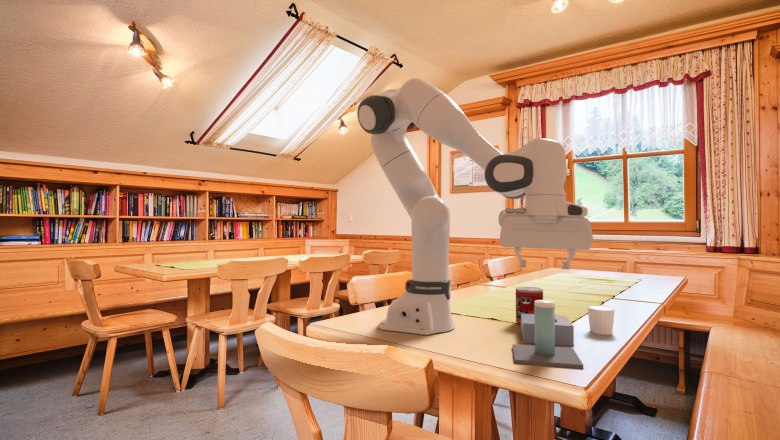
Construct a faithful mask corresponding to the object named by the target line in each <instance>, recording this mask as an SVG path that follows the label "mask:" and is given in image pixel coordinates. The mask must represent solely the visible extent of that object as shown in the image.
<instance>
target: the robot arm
mask: <svg viewBox="0 0 780 440" xmlns="http://www.w3.org/2000/svg"><path fill="white" fill-rule="evenodd" d="M356 112H357V119H358V123H359V125H360V127H361V128H362V130H364V132H365V133H367V134H370V135H371V138H370V144H371V147H372V150H373V152H374V156H375V157H376V160H377V162H378V164H379V166H380V167H381V170H382V171H383V173H384V174H385V177H386V178H387V180H388V182H389V183H390V185H391V187H392V188H393V190H394V193H395V194H396V195H397V197H398V199H399V201H400V202H401V204H402V206H403V207H404V209H405V211H406V213H407V215H408V216H409V218H410V219H411V278H408V279H407V280H406V282H405V283H404V289H405V292H404V293H402V294H401V295H400V296H399V297H397V298H396V299H395V300H394V301H392V302H391V303H390V304H389V305H388V309H387V312H386V317H385V318H383V319H382V320H380V322H379V324H378V328H379V329H380V330H384V331H390V332H392V331H393V332H397V333H398V332H399V333H407V334H416V335H422V336H423V335H424V336H429V335H432V334H433V335H434V334H437V333H445V332H449V331H452V330H453V329H455V323H454V320H453V316H452V311H451V310H452V309H451V301H450V299H451V295H452V294H451V293H452V284H451V280H450V277H449V275H450V262H449V261H450V258H449V257H450V256H449V255H450V254H449V253H450V235H451V231H450V229H451V212H450V208H449V205H448V204H447V202H446V201H445V200H444V199H443V198H441V197H440V196H439V194H438V193H437V190H436V188H435V187H434V185H433V183H432V181H431V178H430V176H429V175H428V172H427V171H426V169H425V167H424V165H423V164H422V162H421V160H420V158H419V157H418V155H417V154H416V151H415V150H414V148H413V147H412V145H411V144H410V142H409V141H408V138H407V135H406V134H407V130H409V131H410V130H413V129H414V128H415V126H416V127H417V128H418V129H419V130H420V131H421V132H423V133H424V134H425V135H427V136H429V137H430V138H431V139H433V140H434V141H437V142H439V143H441V144H443V145H444V146H447V147H449V148H452V149H454V150H456V151H458V152H460V153H462V154H464V155H465V156H467V157H468V158H470V160H472V161H473V162H474V163H475V164H476V165H478V166H479V167H480V168H481V169H482V170H484V180H485V182H486V184H487V186H488V187H489V189H491V190H492V191H494V192H495V193H498V194H499V195H502V196H503V197H505V198H507V199H510V200H519V199H522V198H524V197H525V200H524V201H525V202H524V207H525V208H523V207H521V208H518V207H517V208H511V207H508V208H505V209H502V210H501V211H500V212H499V213H498V224H499V226H500V233H499V245H500V246H501V247H503V248H514V253H515V255H516V257H517V258H518V261H519V262H518V263H519V264H518V267H519V268H526V267H527V260H526V259H524V258H522V256H521V254H520V253H522V249H523V248H525V249H548V250H549V249H550V250H551V249H552V250H553V249H554V250H555V249H556V250H566V252H567V253H566V254H567V257H566V259H565V260H561V270H570V268H571V263H570V262H572V260H573V259H574V257H575V256H576V250H579V251H580V250H582V251H583V250H584V251H589V250H591V249H592V247H593V245H594V237H593V229H592V224H591V221H590V220H589V219H588V218H586V217H587V216H588V214H589V212H588V208H587V207H585V206H583V205H579V204H576V203H573V202H570V201H567V200H566V198H567V194H566V190H565V183H566V180H567V156H566V155H567V154H566V150H565V147H564V146H563V145H562V144H561V143H560V142H559V141H558V140H555V139H554V140H553V139H551V138H541V137H540V138H532V139H530V140H529V141H528V142H527V143H525V144H524V145H522V146H521V147H519V148H516V149H515V150H512V151H510V152H507V153H502V152H501V151H499V150H498V149H497V148H496V147H495V146H493V144H491V143H490V142H488V141H487V139H485V138H484V137H483V136H482V135H481V134H480V132H478V130H477V129H476V128H475V126H474V125H473V124H472V121H470V119H469V118H468V117H467V116H466V114H465V113H464V111H463V110H462V109H461V108H460V107H459V105H458V103H456V102H455V101H454V100H453V99H452V98H451V97H450V96H449V95H447V94H446V93H444V92H443V91H442V90H441V89H440V88H438V87H436V86H435V85H433V84H431V83H429V82H427V81H426V80H424V79H422V78H419V77H418V78H417V77H415V78H410V79H409V80H407V81H406V82H404V83H403V84H402V86H401V87H399V88H393V89H387V90H385V91H383V92H380V93H378V94H377V93H376V94H375V95H370V96H368V97H366V98H365V99H363V100H362V101H361V102H360V103H359V105H358V107H357V111H356Z"/></svg>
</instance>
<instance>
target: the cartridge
mask: <svg viewBox="0 0 780 440" xmlns="http://www.w3.org/2000/svg"><path fill="white" fill-rule="evenodd" d="M555 304H556V302H555V301H553V300H548V299H547V300H546V299H543V300H535V301H534V313H535V343H534V346H535V354H537V355H540V356H546V357H551V356H554V355H555V347H556V345H555V315H556V312H555V309H556V308H555V306H556V305H555Z"/></svg>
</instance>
